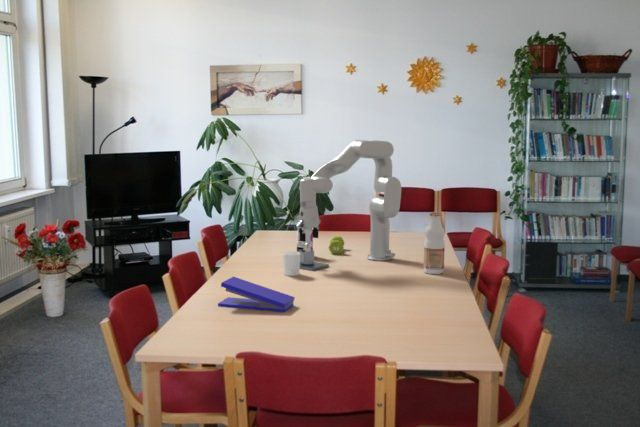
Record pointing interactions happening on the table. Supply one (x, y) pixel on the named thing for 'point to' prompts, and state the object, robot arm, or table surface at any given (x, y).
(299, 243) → the supplement can
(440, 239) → the fruit juice
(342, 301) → the table surface
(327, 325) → the table surface
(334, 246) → the dumbbell
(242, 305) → the stapler
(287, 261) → the white cup
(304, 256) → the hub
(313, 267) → the shaft stand
